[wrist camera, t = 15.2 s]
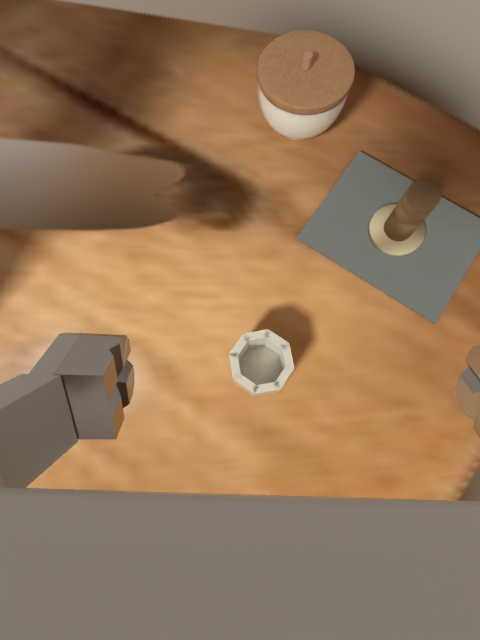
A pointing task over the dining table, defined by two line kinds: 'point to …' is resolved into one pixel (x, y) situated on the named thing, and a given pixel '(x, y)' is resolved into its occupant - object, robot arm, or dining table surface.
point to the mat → (384, 270)
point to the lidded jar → (303, 83)
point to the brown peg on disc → (404, 220)
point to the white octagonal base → (261, 362)
